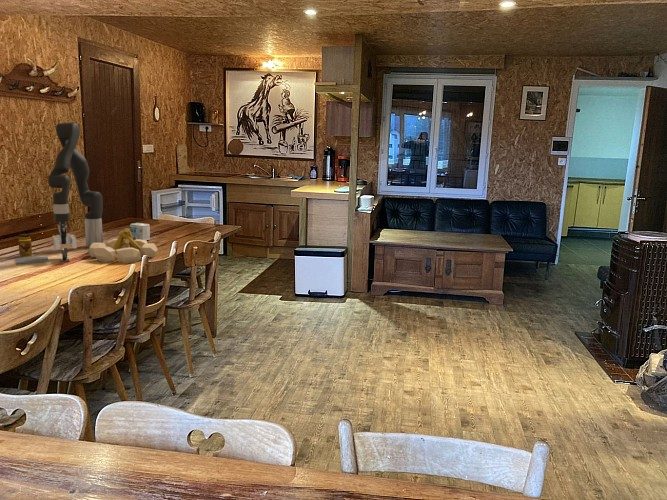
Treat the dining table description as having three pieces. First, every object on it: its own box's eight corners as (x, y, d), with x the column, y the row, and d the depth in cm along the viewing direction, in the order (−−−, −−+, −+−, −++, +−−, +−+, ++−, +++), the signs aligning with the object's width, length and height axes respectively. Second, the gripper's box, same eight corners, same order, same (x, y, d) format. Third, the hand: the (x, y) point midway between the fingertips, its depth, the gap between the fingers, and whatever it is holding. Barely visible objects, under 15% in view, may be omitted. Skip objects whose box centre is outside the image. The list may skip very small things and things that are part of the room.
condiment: (25, 257, 292) (24, 235, 290) (13, 256, 294) (11, 234, 292) (36, 255, 299) (35, 233, 296) (24, 253, 301) (22, 232, 299)
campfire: (126, 266, 284) (125, 234, 281) (75, 259, 295) (74, 228, 292) (168, 254, 316) (167, 225, 313) (121, 248, 327) (120, 220, 324)
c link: (53, 244, 294) (52, 235, 292) (73, 242, 299) (73, 233, 298) (55, 249, 282) (55, 240, 281) (76, 248, 287) (76, 238, 286)
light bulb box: (130, 240, 352) (129, 223, 349) (137, 238, 358) (136, 222, 355) (143, 242, 348) (142, 225, 346) (150, 240, 354) (150, 224, 352)
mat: (47, 257, 296) (47, 256, 296) (49, 262, 285) (49, 261, 285) (15, 259, 288) (15, 258, 288) (16, 264, 277) (16, 263, 277)
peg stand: (68, 260, 291) (68, 247, 289) (69, 261, 287) (68, 248, 286) (60, 260, 289) (59, 247, 287) (61, 262, 285) (60, 249, 284)
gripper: (70, 213, 288) (72, 245, 291) (67, 209, 299) (69, 240, 303) (54, 214, 284) (57, 246, 288) (52, 210, 295) (54, 241, 299)
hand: (63, 243), depth 295 cm, fingers closed on c link
